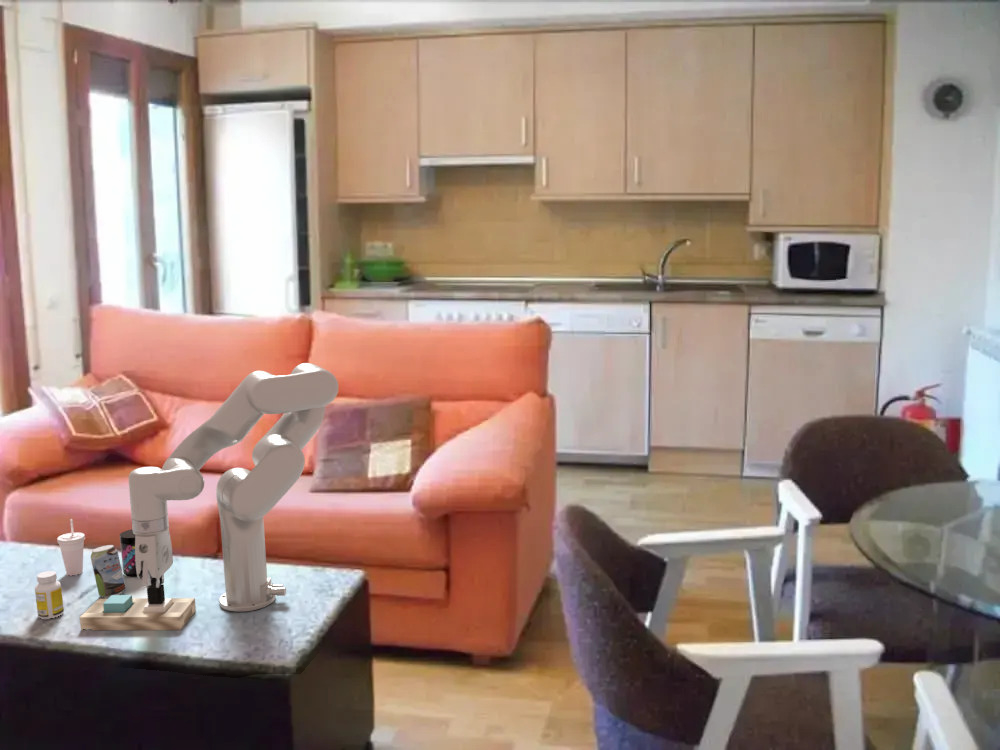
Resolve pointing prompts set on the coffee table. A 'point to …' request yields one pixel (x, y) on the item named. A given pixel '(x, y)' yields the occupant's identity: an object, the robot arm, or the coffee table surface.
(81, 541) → the smoothie
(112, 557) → the beverage can
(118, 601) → the teal key
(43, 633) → the coffee table surface
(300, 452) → the robot arm
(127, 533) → the supplement container
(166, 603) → the white key
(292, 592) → the coffee table surface
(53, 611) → the supplement bottle
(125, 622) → the key block
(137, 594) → the coffee table surface
